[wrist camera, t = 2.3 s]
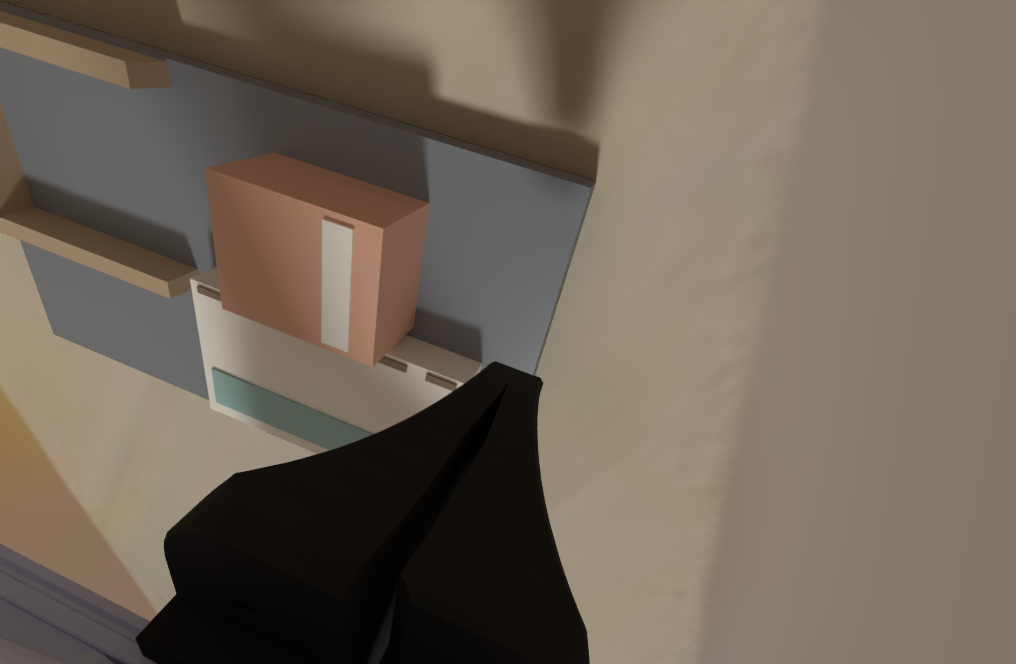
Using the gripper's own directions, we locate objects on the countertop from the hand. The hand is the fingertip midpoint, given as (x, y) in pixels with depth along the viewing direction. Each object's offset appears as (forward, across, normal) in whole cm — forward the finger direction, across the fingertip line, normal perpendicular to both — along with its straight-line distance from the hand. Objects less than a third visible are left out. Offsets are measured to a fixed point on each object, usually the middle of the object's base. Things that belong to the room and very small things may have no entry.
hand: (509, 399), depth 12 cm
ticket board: (+6, +13, +4) cm, 15 cm away
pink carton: (+5, +8, 0) cm, 9 cm away
